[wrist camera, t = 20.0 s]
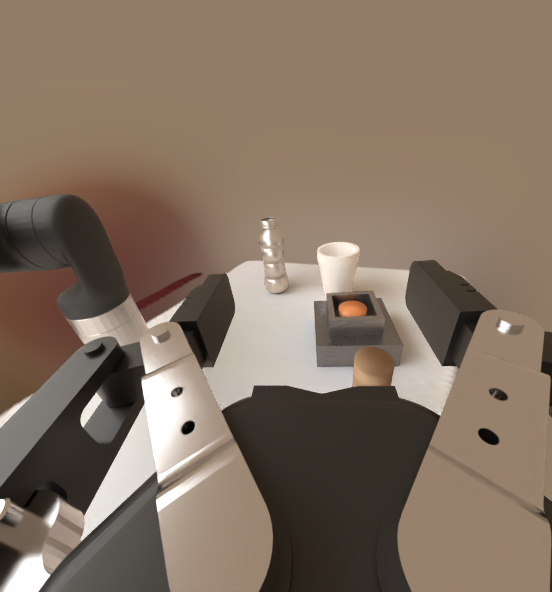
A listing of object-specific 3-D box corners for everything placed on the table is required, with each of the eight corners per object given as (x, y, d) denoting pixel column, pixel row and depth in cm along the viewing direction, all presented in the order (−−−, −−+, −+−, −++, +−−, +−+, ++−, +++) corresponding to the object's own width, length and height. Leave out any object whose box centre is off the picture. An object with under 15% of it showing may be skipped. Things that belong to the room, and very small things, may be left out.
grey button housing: (317, 366, 45) (315, 330, 41) (314, 319, 57) (313, 287, 53) (398, 366, 43) (406, 328, 39) (378, 317, 55) (382, 283, 51)
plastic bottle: (266, 285, 73) (254, 217, 63) (289, 283, 73) (281, 214, 62) (265, 297, 68) (252, 224, 57) (290, 294, 67) (282, 221, 57)
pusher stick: (352, 447, 33) (357, 374, 25) (348, 418, 36) (351, 347, 29) (384, 448, 32) (399, 375, 25) (377, 418, 35) (388, 346, 28)
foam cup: (314, 304, 62) (312, 256, 55) (323, 286, 69) (322, 241, 62) (353, 309, 58) (356, 258, 52) (359, 289, 65) (362, 242, 58)
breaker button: (340, 327, 46) (340, 316, 44) (337, 311, 50) (337, 301, 49) (368, 326, 45) (369, 315, 44) (363, 310, 49) (363, 300, 48)
